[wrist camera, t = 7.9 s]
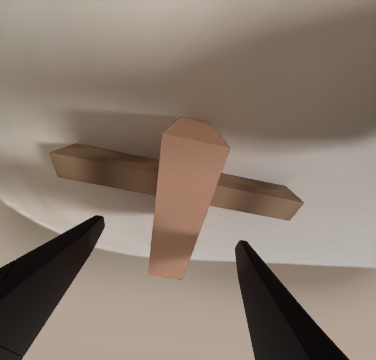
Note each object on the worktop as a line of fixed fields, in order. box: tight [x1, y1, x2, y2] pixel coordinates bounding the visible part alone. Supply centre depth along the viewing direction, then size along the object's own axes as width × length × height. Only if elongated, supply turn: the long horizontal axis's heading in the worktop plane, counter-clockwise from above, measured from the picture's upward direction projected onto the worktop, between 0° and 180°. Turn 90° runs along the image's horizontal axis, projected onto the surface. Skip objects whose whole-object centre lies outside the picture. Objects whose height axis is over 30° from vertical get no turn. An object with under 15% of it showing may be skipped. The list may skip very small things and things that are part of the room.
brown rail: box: [50, 144, 304, 221], centre depth 14 cm, size 24×2×3 cm, turn 79°
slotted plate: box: [148, 117, 230, 280], centre depth 12 cm, size 3×12×8 cm, turn 169°
